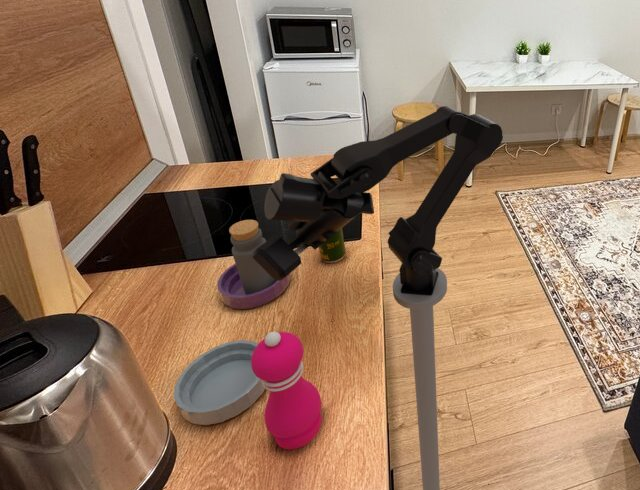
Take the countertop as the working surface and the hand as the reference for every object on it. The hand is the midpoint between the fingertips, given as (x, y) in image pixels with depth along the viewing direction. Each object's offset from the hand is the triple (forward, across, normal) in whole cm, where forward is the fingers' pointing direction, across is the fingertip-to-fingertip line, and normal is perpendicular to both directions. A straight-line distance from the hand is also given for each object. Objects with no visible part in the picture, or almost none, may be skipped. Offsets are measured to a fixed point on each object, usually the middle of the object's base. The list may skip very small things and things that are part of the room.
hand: (288, 250), depth 76 cm
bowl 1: (+17, 0, +2) cm, 17 cm away
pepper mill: (-2, +19, +21) cm, 29 cm away
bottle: (+16, 0, +2) cm, 16 cm away
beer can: (+12, -14, +7) cm, 19 cm away
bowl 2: (+8, +18, +11) cm, 22 cm away
